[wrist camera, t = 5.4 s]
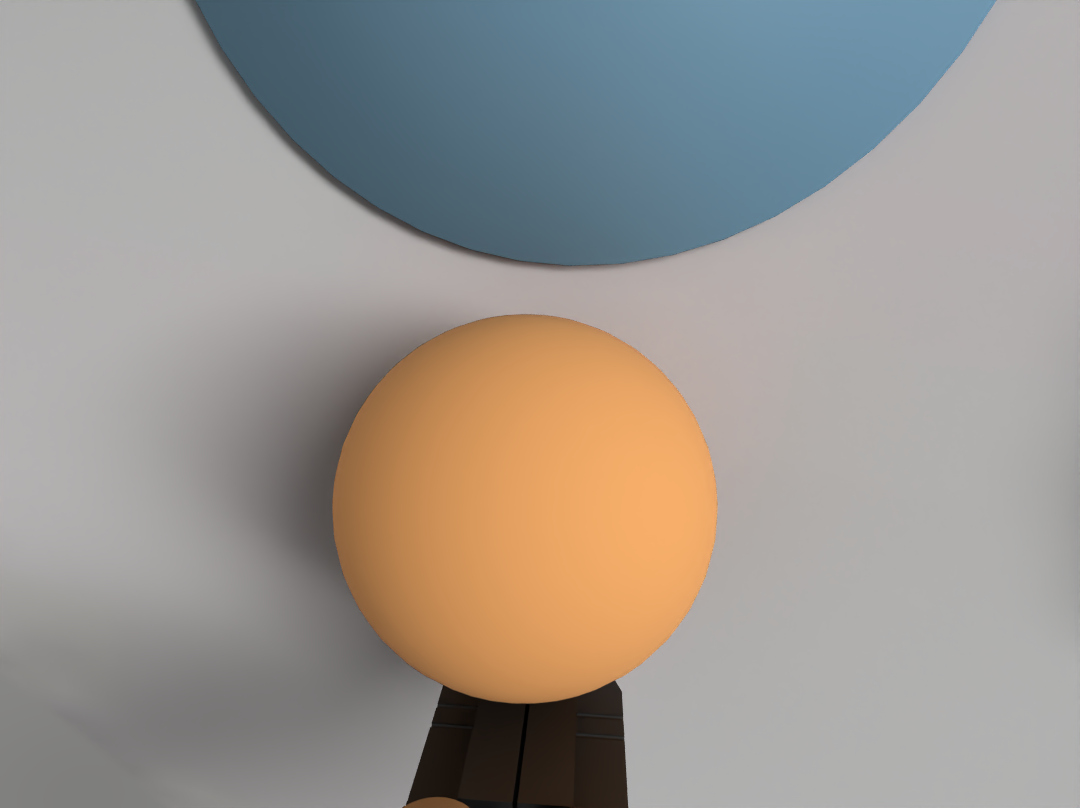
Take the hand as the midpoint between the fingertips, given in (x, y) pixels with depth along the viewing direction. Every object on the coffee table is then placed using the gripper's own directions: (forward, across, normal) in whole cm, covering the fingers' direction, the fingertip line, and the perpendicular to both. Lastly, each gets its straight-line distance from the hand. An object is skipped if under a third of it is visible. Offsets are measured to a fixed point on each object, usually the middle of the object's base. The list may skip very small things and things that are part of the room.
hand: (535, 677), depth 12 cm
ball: (-1, 0, -4) cm, 4 cm away
